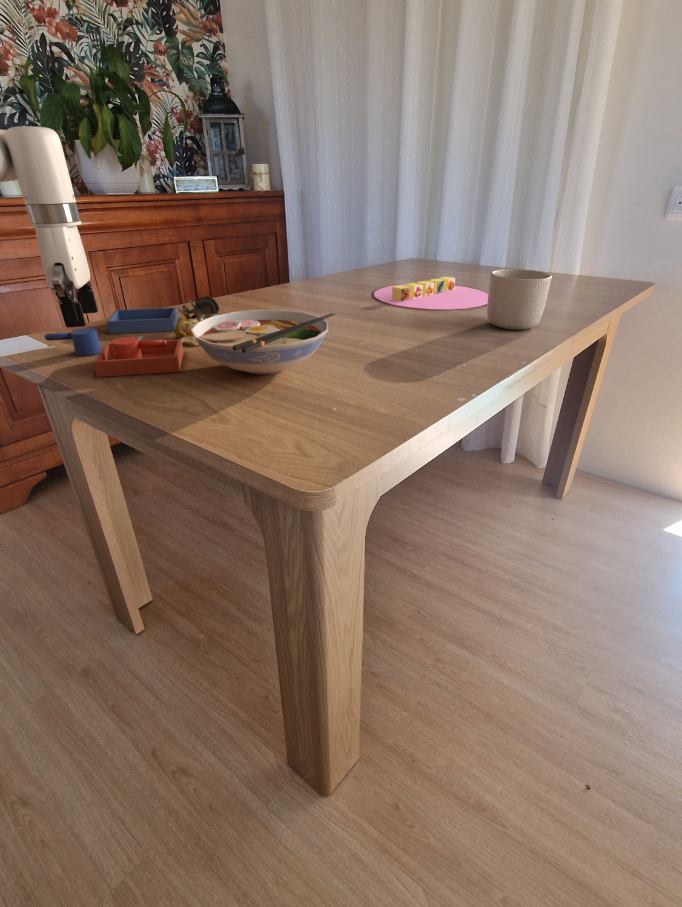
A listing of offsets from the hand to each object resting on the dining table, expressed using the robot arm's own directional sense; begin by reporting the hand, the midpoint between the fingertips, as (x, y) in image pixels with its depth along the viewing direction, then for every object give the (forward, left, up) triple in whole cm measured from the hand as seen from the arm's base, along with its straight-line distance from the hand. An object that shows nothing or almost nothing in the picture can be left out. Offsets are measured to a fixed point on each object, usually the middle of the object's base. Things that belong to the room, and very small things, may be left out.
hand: (83, 319), depth 91 cm
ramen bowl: (+31, -15, -6) cm, 35 cm away
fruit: (+18, +4, -6) cm, 20 cm away
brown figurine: (+20, +15, -6) cm, 26 cm away
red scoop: (+11, -9, -6) cm, 15 cm away
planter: (+87, +2, -6) cm, 88 cm away
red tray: (+10, -9, -6) cm, 15 cm away
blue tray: (+7, +17, -6) cm, 20 cm away
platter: (+80, +34, -6) cm, 88 cm away
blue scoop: (-3, 0, -6) cm, 7 cm away
